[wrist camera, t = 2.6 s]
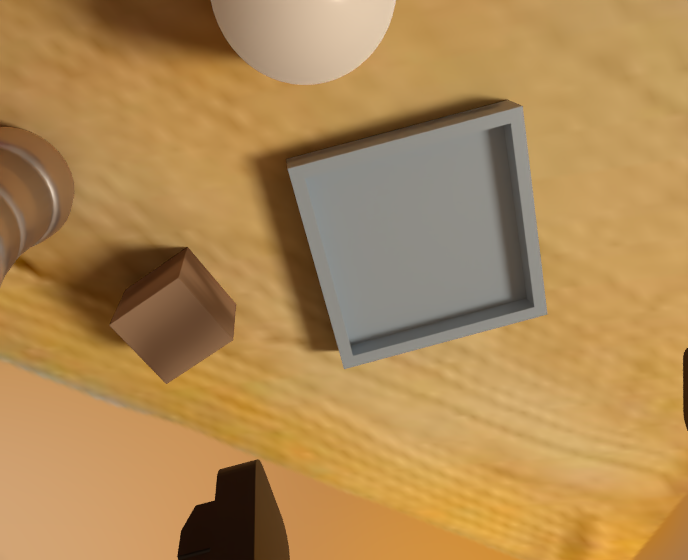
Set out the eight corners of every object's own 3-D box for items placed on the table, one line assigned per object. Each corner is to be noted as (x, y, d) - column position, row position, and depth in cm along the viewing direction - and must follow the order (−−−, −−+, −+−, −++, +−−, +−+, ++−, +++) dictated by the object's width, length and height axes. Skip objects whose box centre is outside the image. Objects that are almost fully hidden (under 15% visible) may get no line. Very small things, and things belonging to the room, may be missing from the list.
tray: (286, 159, 40) (287, 168, 37) (508, 99, 40) (522, 105, 37) (340, 350, 45) (344, 369, 43) (533, 299, 45) (547, 314, 43)
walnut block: (125, 289, 42) (109, 325, 37) (187, 246, 41) (178, 277, 37) (176, 343, 44) (166, 384, 39) (236, 303, 43) (233, 340, 39)
